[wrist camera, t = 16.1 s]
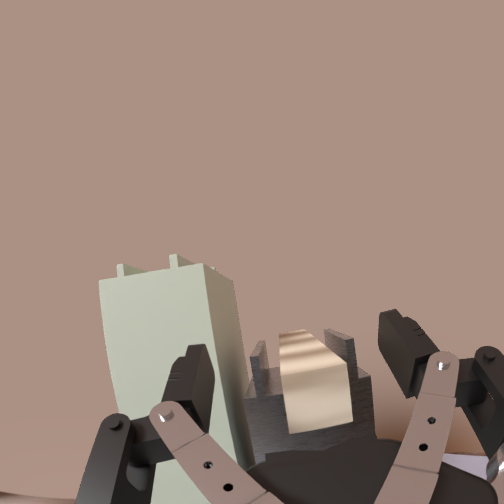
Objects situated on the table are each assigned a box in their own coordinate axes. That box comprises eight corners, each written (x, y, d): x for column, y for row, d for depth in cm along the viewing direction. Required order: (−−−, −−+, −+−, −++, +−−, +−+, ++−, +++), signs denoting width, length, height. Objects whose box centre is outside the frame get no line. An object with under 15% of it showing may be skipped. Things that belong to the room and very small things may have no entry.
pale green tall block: (266, 574, 15) (199, 236, 22) (180, 570, 16) (97, 256, 22) (271, 503, 30) (230, 265, 37) (208, 505, 30) (161, 276, 37)
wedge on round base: (501, 476, 17) (423, 469, 28) (509, 435, 19) (425, 432, 30) (474, 522, 13) (386, 503, 24) (485, 481, 14) (387, 466, 25)
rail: (352, 421, 12) (346, 362, 12) (289, 433, 12) (280, 375, 12) (308, 353, 33) (304, 329, 34) (283, 358, 33) (279, 333, 34)
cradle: (372, 559, 14) (365, 335, 19) (281, 576, 15) (236, 358, 20) (354, 511, 24) (337, 326, 29) (282, 524, 25) (250, 342, 29)
